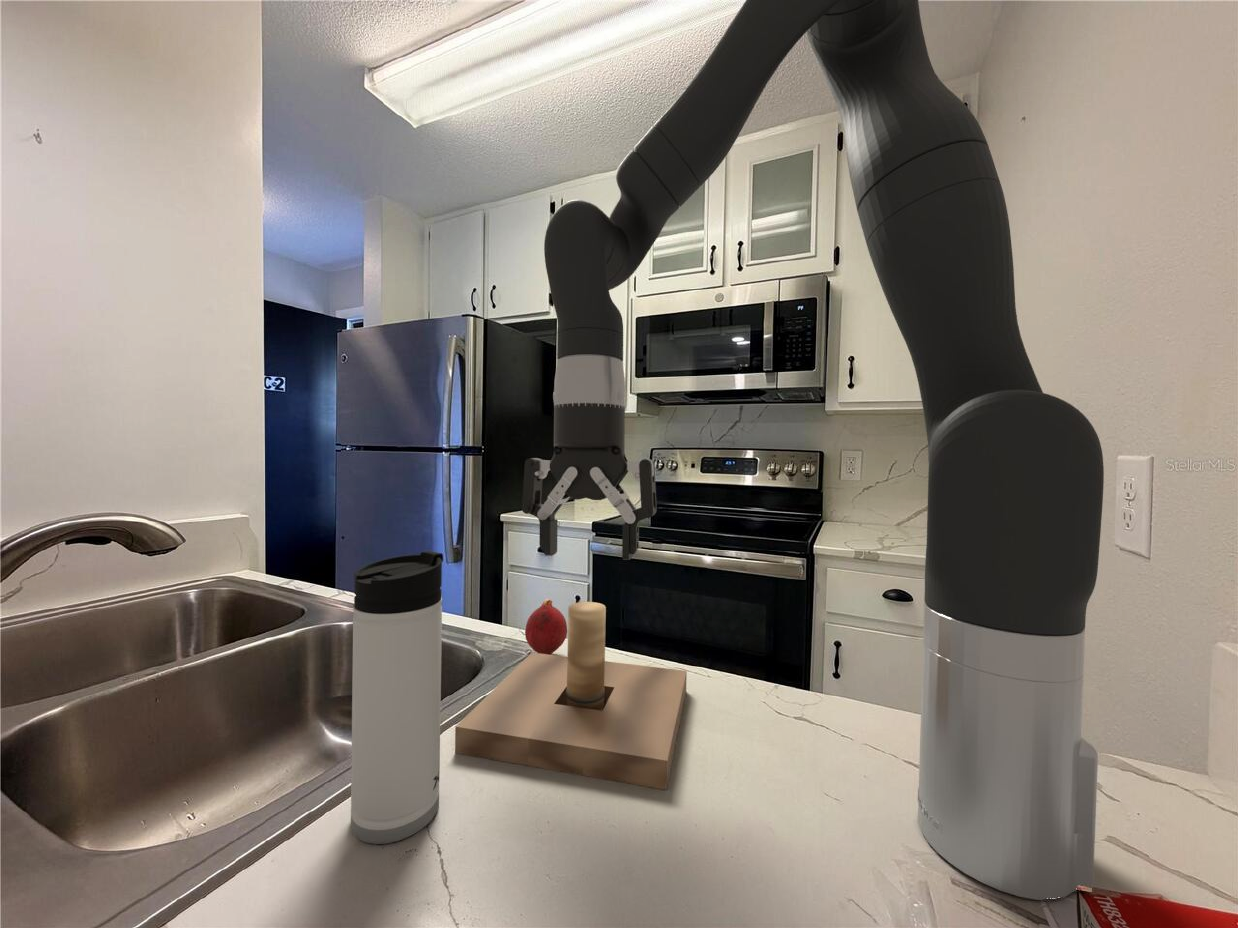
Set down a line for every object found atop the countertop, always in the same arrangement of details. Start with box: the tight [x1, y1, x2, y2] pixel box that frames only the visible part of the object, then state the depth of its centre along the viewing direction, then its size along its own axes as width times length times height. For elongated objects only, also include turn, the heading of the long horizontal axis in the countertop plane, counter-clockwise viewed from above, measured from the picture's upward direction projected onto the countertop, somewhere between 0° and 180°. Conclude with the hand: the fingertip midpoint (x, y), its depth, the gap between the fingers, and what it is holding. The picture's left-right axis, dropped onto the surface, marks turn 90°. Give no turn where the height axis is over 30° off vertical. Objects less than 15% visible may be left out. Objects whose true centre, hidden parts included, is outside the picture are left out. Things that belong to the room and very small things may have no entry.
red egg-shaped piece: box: [524, 598, 568, 655], centre depth 68 cm, size 6×6×8 cm
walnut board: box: [454, 652, 688, 791], centre depth 53 cm, size 20×18×2 cm
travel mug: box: [350, 550, 444, 845], centre depth 38 cm, size 6×7×20 cm
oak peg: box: [566, 601, 607, 711], centre depth 52 cm, size 4×4×12 cm
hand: (588, 556), depth 52 cm, fingers open, 8 cm apart
